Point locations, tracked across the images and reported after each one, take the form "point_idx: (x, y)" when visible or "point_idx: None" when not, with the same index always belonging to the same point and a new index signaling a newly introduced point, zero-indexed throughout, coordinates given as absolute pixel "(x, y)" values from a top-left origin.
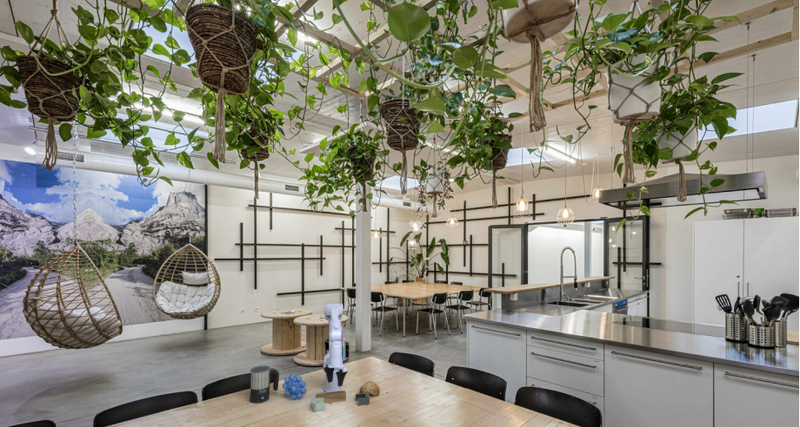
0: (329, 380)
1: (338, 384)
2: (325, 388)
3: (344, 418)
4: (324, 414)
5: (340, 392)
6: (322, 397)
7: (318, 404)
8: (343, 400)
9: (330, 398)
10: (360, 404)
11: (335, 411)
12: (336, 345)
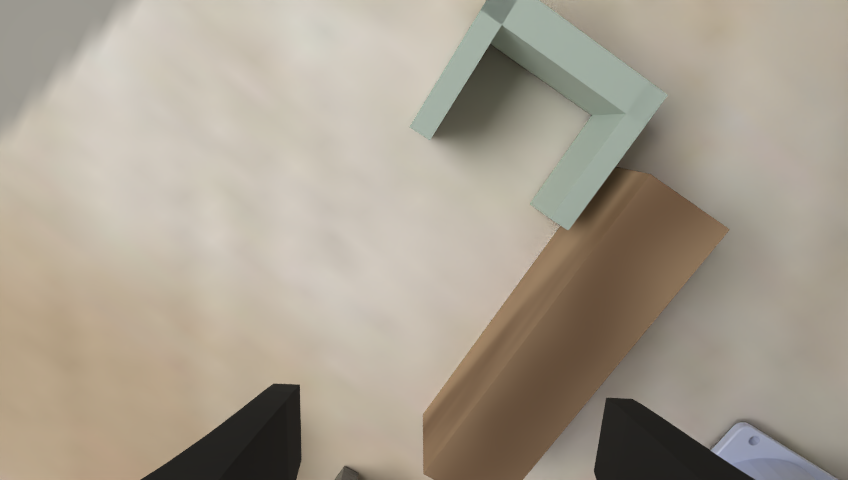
0: (624, 439)
1: (255, 401)
2: (814, 476)
3: (86, 127)
4: (328, 48)
5: (486, 445)
6: (590, 235)
7: (459, 47)
8: (436, 400)
9: (524, 309)
10: None
11: (300, 182)
12: None
